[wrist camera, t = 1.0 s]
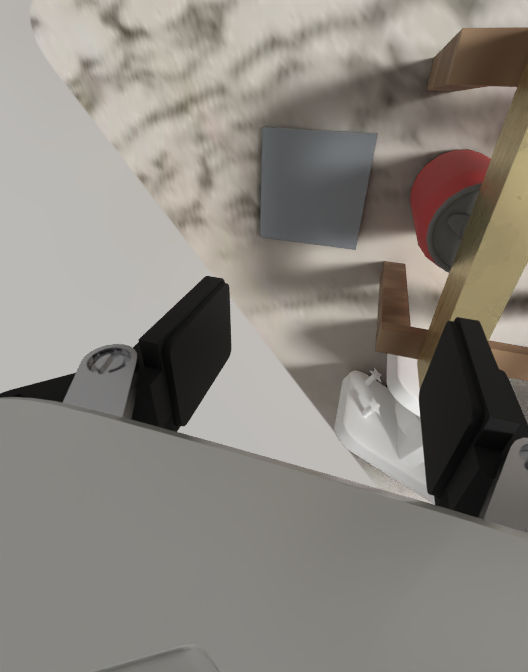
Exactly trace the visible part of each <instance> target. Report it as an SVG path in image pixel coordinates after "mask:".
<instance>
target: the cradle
mask: <svg viewBox="0 0 528 672" xmlns="http://www.w3.org/2000/svg"><path fill="white" fill-rule="evenodd" d="M527 60H528V28H463V29H462V30H461V31H460V32H459V33H458V34H457V35H456V36H455V37H454V38H453V39H452V40H451V41H450V42H449V43H448V44H447V45H446V46H445V47H444V48H443V49H442V50H441V51H440V52H439V53H438V54H437V55H436V56H435V57H434V60H433V64H432V68H431V72H430V76H429V81H428V85H427V89H426V91H460V90H467V89H473V88H480V87H486V86H508V87H518V84H519V81H520V79H521V76H522V73H523V70H524V68H525V65H526V62H527ZM427 333H428V330H426V329H420V328H415V327H410V315H409V303H408V291H407V279H406V267H405V264H400V263H393V262H386V261H384V265H383V269H382V273H381V277H380V288H379V303H378V319H377V334H376V350H375V351H377V352H382V353H387V354H392V355H397V356H402V357H407V358H413V359H418V357H419V355H420V352H421V349H422V346H423V344H424V341H425V338H426V335H427ZM488 343H489V346H490V348H491V351H492V353H493V356H494V358H495V360H496V363H497V365H498V368H499V369H500V370H503V371H504V372H505V373H506V375H507V377H510V378H515V379H520V380H525V381H528V347H523V346H517V345H512V344H506V343H500V342H494V341H488Z"/></svg>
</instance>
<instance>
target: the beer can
mask: <svg viewBox="0 0 528 672" xmlns="http://www.w3.org/2000/svg"><path fill="white" fill-rule="evenodd" d="M490 161H491V159H490V158H488V157H487V156H485V155H483V154H481V153H479V152H475V151H472V150H468V149H466V150H453V151H450V152H447V153H444V154H441V155H439V156H438V157H436V158H435V159H433V160H432V161H430V162H429V163H428V164H427V165H426V166H425V167H424V168H423V169H422V170H421V172H420V173H419V174H418V175H417V177H416V179H415V181H414V184H413V186H412V189H411V196H410V203H411V209H412V214H413V219H414V225H415V230H416V235H417V241H418V245H419V247H420V248H421V250H422V252H423V253H424V255H425V256H426V257H427V258H428V259H429V260H431V261H432V262H433V263H435V264H436V265H437V266H439V267H440V268H442V269H443V270H445V271H446V272H449V273H450V270H451V267H452V264H453V262H454V259H455V256H456V254H457V251H458V248H459V245H460V243H461V240H462V237H463V234H464V232H465V229H466V226H467V223H468V221H469V218H470V215H471V213H472V210H473V207H474V204H475V202H476V199H477V196H478V193H479V191H480V188H481V185H482V182H483V180H484V177H485V174H486V172H487V169H488V166H489V163H490Z"/></svg>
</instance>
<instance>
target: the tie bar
mask: <svg viewBox="0 0 528 672" xmlns="http://www.w3.org/2000/svg"><path fill="white" fill-rule="evenodd" d="M527 262H528V60H527V62H526V65H525V68H524V70H523V73H522V76H521V79H520V81H519V84H518V87H517V90H516V92H515V95H514V98H513V101H512V103H511V106H510V109H509V111H508V114H507V117H506V120H505V122H504V125H503V128H502V131H501V133H500V136H499V139H498V142H497V144H496V147H495V150H494V152H493V155H492V158H491V161H490V163H489V166H488V169H487V172H486V174H485V177H484V180H483V182H482V185H481V188H480V191H479V193H478V196H477V199H476V202H475V204H474V207H473V210H472V213H471V215H470V218H469V221H468V223H467V226H466V229H465V232H464V234H463V237H462V240H461V243H460V245H459V248H458V251H457V254H456V256H455V259H454V262H453V264H452V267H451V270H450V273H449V275H448V278H447V281H446V284H445V286H444V289H443V292H442V294H441V297H440V300H439V303H438V305H437V308H436V311H435V314H434V316H433V319H432V322H431V325H430V327H429V330H428V333H427V335H426V338H425V341H424V344H423V346H422V349H421V352H420V355H419V357H418V360H417V368H418V379H419V389H420V388H421V385H422V383H423V380H424V378H425V375H426V373H427V370H428V367H429V365H430V362H431V360H432V357H433V355H434V352H435V350H436V347H437V345H438V342H439V340H440V337H441V335H442V332H443V329H444V327H445V325H446V323H447V321H454V320H455V318H457V317H460V318H466V319H472V320H478V321H480V323H481V326H482V328H483V331H484V333H485V336H486V338H487V341H489V339H490V336H491V334H492V332H493V330H494V328H495V326H496V324H497V322H498V320H499V318H500V316H501V314H502V312H503V310H504V308H505V306H506V304H507V302H508V300H509V298H510V296H511V294H512V292H513V290H514V288H515V286H516V284H517V282H518V280H519V278H520V276H521V274H522V272H523V270H524V268H525V266H526V264H527Z"/></svg>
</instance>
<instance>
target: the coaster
mask: <svg viewBox="0 0 528 672" xmlns="http://www.w3.org/2000/svg"><path fill="white" fill-rule="evenodd" d="M377 134H378V133H364V132H347V131H329V130H311V129H293V128H276V127H262V171H261V214H260V237H263V238H270V239H278V240H285V241H293V242H300V243H308V244H316V245H323V246H331V247H338V248H346V249H353V250H356V245H357V240H358V235H359V229H360V224H361V219H362V214H363V208H364V203H365V198H366V192H367V187H368V182H369V176H370V171H371V166H372V161H373V155H374V150H375V145H376V139H377Z"/></svg>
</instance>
